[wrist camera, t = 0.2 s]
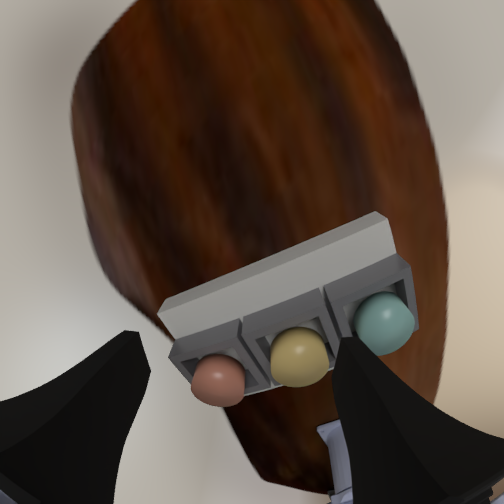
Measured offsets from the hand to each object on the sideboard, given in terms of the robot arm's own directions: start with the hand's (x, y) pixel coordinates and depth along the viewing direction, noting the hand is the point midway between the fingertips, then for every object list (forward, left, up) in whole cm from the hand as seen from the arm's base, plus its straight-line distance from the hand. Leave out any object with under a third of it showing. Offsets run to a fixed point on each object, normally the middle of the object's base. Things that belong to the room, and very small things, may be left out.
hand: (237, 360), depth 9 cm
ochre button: (-6, -1, -6) cm, 8 cm away
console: (-6, -1, -10) cm, 11 cm away
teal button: (-6, -6, -6) cm, 10 cm away
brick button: (-6, +5, -6) cm, 9 cm away
